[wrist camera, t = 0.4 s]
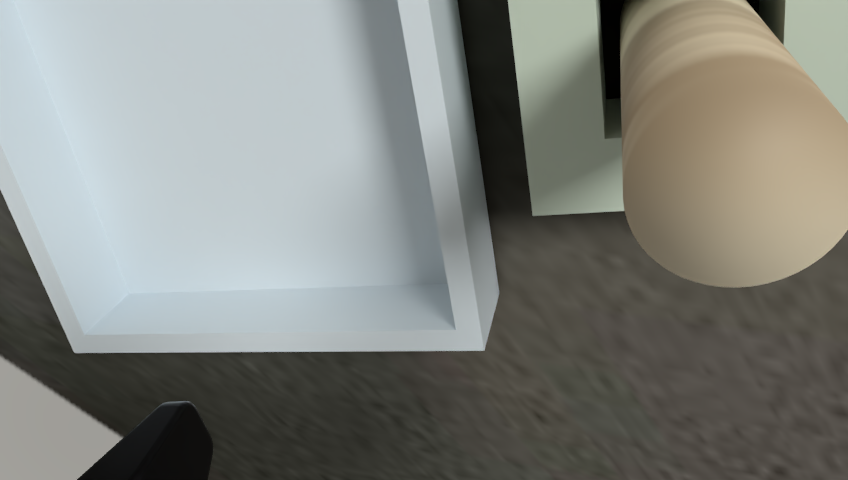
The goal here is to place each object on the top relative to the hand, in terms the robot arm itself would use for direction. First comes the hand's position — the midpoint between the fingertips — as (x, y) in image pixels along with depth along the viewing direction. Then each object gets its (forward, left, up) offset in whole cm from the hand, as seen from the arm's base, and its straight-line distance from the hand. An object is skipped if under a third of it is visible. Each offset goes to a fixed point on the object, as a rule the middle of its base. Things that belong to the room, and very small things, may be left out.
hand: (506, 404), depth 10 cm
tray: (+1, +11, -15) cm, 18 cm away
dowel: (+2, -3, -15) cm, 15 cm away
